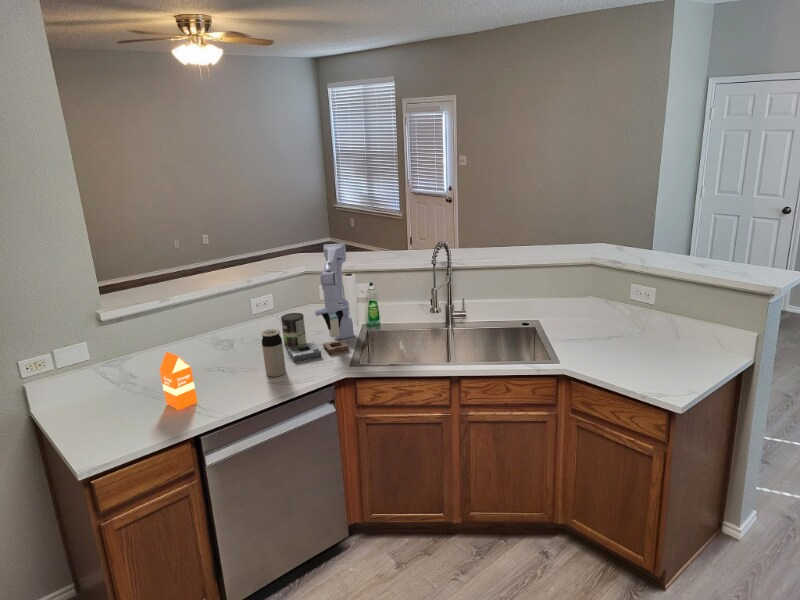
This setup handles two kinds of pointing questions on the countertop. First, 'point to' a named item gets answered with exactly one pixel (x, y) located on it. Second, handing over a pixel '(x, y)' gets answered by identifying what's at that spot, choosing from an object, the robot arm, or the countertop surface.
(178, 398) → the orange juice
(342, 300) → the robot arm
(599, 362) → the countertop surface
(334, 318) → the plug
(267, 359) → the travel mug
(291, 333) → the coffee can
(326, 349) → the wooden square frame
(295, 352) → the port panel
